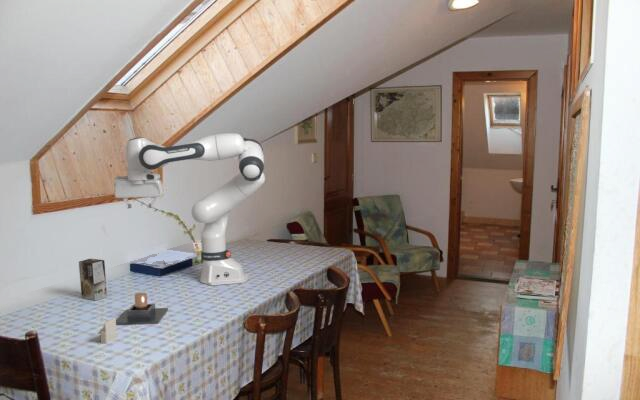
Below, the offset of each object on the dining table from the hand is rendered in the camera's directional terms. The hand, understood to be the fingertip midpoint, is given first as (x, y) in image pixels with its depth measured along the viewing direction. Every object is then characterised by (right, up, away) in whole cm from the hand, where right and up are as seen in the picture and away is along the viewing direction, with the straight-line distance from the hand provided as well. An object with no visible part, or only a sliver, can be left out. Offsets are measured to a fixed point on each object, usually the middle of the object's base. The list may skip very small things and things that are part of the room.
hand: (140, 207), depth 241 cm
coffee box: (-19, -38, -2) cm, 43 cm away
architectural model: (+7, -44, -53) cm, 69 cm away
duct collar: (+10, -41, -30) cm, 52 cm away
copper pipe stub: (+10, -40, -30) cm, 51 cm away
